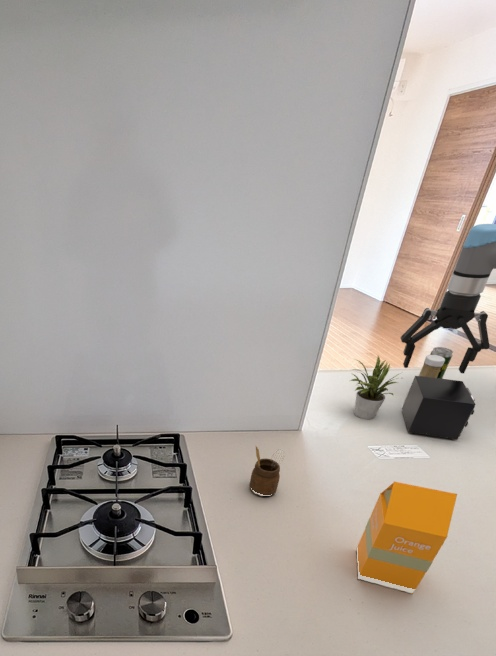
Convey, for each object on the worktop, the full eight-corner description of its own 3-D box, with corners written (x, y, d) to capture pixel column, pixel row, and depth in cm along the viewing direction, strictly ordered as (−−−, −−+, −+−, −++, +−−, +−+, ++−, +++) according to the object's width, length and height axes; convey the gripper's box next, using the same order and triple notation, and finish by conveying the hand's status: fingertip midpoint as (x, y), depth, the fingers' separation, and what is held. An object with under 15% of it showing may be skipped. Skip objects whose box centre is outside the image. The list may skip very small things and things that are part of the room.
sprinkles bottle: (415, 403, 128) (433, 361, 120) (405, 396, 131) (422, 354, 124) (430, 402, 128) (449, 360, 120) (420, 395, 131) (438, 353, 124)
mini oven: (450, 417, 121) (468, 381, 115) (462, 442, 111) (482, 405, 105) (400, 410, 125) (415, 375, 118) (407, 434, 115) (423, 397, 109)
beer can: (413, 383, 138) (428, 347, 131) (428, 381, 138) (443, 346, 131) (426, 391, 133) (442, 354, 126) (441, 389, 134) (458, 352, 127)
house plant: (332, 397, 132) (347, 346, 123) (382, 402, 129) (402, 350, 119) (338, 422, 121) (355, 367, 111) (394, 428, 117) (416, 372, 108)
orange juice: (355, 549, 84) (390, 467, 72) (408, 562, 81) (453, 479, 69) (357, 580, 78) (395, 496, 66) (413, 595, 75) (464, 511, 64)
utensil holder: (280, 497, 97) (291, 453, 90) (252, 499, 96) (261, 455, 89) (270, 480, 101) (280, 437, 94) (244, 482, 101) (252, 439, 94)
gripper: (518, 290, 110) (481, 368, 122) (405, 285, 118) (381, 358, 130) (529, 299, 105) (489, 379, 117) (409, 293, 113) (384, 369, 125)
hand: (432, 368), depth 124 cm, fingers open, 13 cm apart
